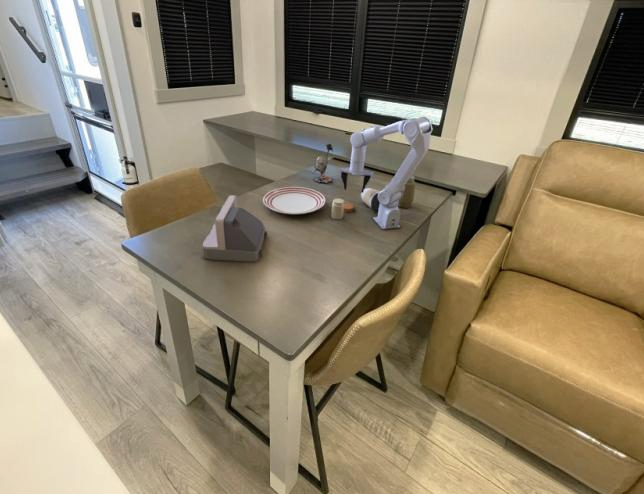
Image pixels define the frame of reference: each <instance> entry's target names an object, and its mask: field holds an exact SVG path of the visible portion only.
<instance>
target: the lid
mask: <svg viewBox="0 0 644 494" xmlns="http://www.w3.org/2000/svg"><path fill="white" fill-rule="evenodd" d="M344 204H345V206H344V213H351V212H353V211H354V205H353V204H351V203H350V202H349V203H348V202H344Z"/></svg>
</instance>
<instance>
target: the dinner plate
mask: <svg viewBox="0 0 644 494" xmlns="http://www.w3.org/2000/svg"><path fill="white" fill-rule="evenodd" d="M262 203H263V205H264V206H265V207H266V208H267V209H270V210H272V211H273V212H276V213H279V214H284V215H290V216H291V215H297V216H298V215H306V214H310V213H313V212H316V211H318V210H320V209H321V208H323V207H324V206H325V205H326V196H324V194H323V193H321V192H320V191H318V190H315V189H312V188H308V187H301V186H286V187H280V188H279V187H278V188H275V189H272V190H270V191H269V192H267V193H266V194H265V195H264V196H263V198H262Z"/></svg>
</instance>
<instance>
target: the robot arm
mask: <svg viewBox="0 0 644 494" xmlns="http://www.w3.org/2000/svg"><path fill="white" fill-rule="evenodd" d="M433 130H434V129H433V126H432V123H431V120H430V119H429V118H427V117H426V116H420V117H418V118H416V117H415V118H410V119H409V118H408V119H403V120H399V121H396V122H394V123H391V124H388V125H386V126H383V127H381V126H380V125H376V124H374V125H373V124H372V125H370V127H369V128H362V129H361V131H355V132H353V133H352V134H351V135H350V138H349V141H350V144H351V155H350V164H349V167H339V169H338V174H340V178H341V180H342V184H343V190H344V191H346V190H347V187H348V177H349V175H352V176H360V177H363V182H362V188H361V193H362V192H364V189H366V186H367V184H369V181H370V179H373V178H374V173H375V172H374V171H369V170H366V169H364V168H365V160H366V153H367V148H368V145H370V144H374V143H377V142H381V141H383V139H384V137H385V136H389V135H392V134H395V133H399V134H400V135H404V137H405V139H406V140H407V142H408V144H409V145H410V147H411V149H410V151H409V152H408V154H407V155H406V157H405V159H404V160H403V162H402V163H401V165H400V166H399V168H398V170H397V171H396V173H395V175H394V176H393V178H392V179H391V180H390V182H388V183H387V184H386V185H385V186H384V188H383V189H381V190H379V191H380V192H379V193H378V200H379V202H380V205H379V211H378V212H377V216H373V217H372V219H373V220H374V221H375V222H376V224H378V226H379V227H380V228H381V230H389V229H396V228H397V229H398V228H401V225H400V219H401V215H402V214H401V211H400V209H399V206H398V201H399V199H400V198H401V197H402V196H403V191H404V189H405V187H404V185H405V184H406V182H407V181H408V179H409V178H410V176H411V175H413V174H414V173H415V171H416V169H417V168H418V166H419V165H420V163H421V162H422V161H423V159H424V157H425V156H426V154H427V153H428V151H429V149H430V142H431V134H432V132H433Z"/></svg>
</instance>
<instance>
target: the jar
mask: <svg viewBox="0 0 644 494" xmlns="http://www.w3.org/2000/svg"><path fill="white" fill-rule="evenodd" d="M344 203H345V200H344V199H342V198H334V199H333V202H332V203H331V210H330V211H331V212H330V217H331V218H332V219H333V220H342V219H344V214H345V212H344V206H345V204H344Z"/></svg>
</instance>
